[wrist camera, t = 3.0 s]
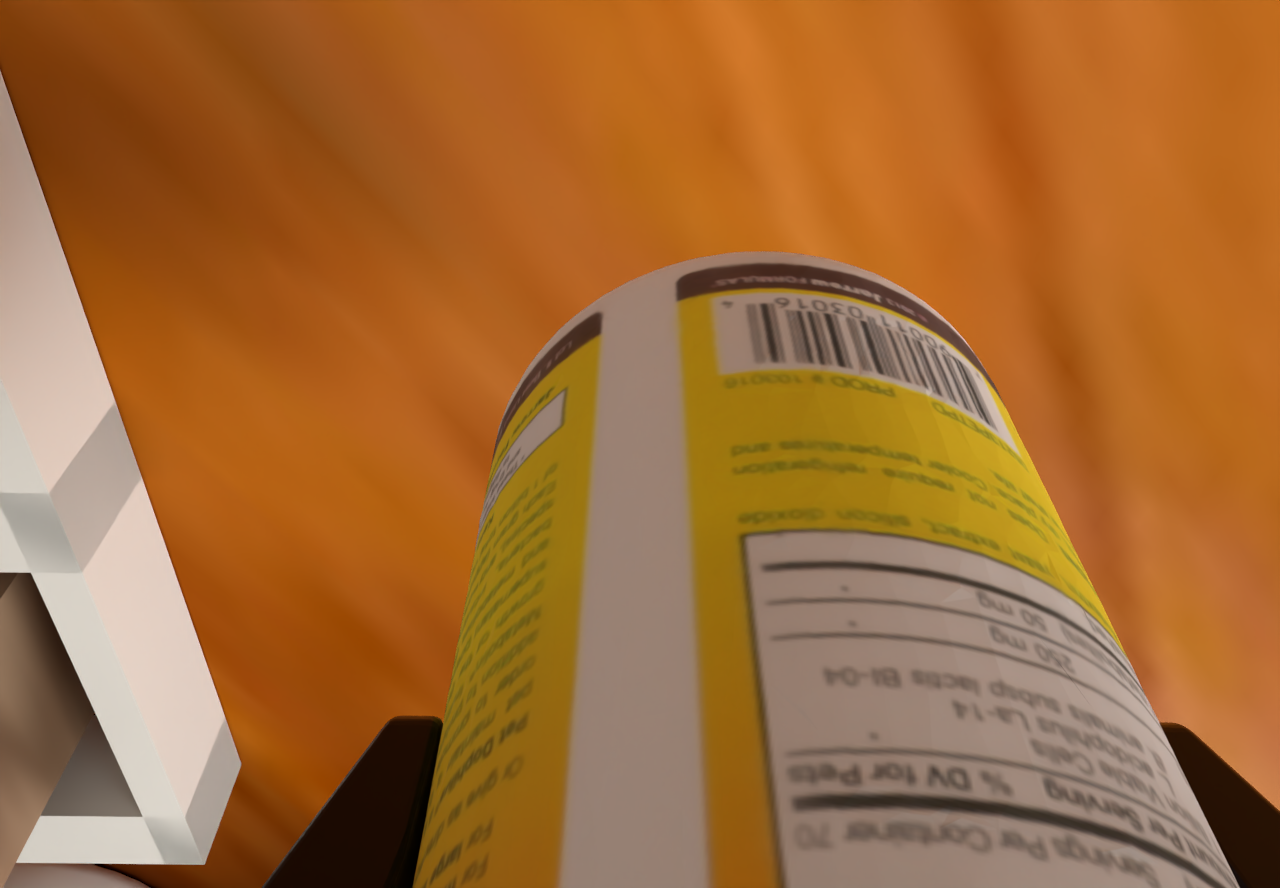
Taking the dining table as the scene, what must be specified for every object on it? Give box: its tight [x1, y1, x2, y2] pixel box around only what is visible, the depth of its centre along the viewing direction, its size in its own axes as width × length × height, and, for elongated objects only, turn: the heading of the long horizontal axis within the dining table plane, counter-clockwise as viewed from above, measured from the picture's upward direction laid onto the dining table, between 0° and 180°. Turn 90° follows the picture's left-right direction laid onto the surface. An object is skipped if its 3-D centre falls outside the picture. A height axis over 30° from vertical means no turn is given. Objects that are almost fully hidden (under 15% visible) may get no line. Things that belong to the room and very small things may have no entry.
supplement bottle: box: [413, 252, 1240, 888], centre depth 8 cm, size 6×6×10 cm
